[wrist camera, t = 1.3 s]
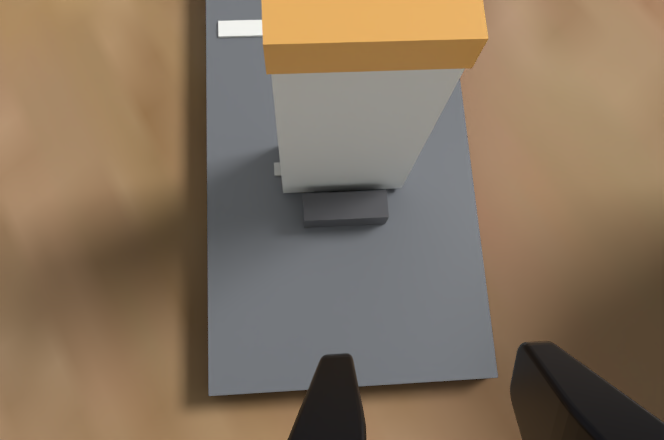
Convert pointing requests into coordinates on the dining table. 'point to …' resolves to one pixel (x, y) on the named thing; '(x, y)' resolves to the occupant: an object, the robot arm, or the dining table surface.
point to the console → (332, 246)
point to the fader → (363, 84)
